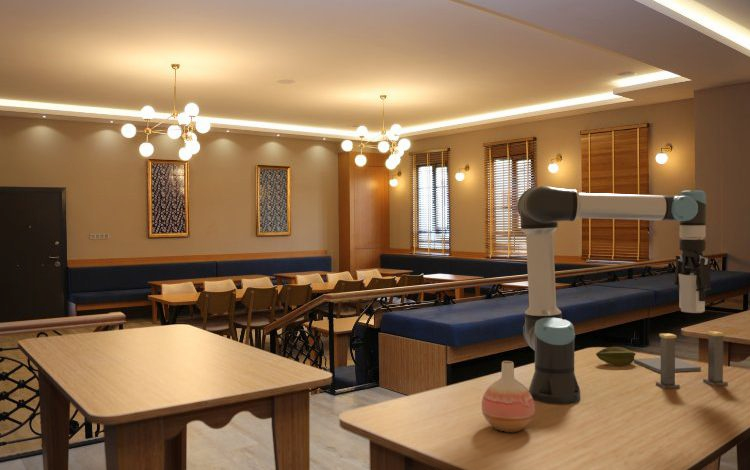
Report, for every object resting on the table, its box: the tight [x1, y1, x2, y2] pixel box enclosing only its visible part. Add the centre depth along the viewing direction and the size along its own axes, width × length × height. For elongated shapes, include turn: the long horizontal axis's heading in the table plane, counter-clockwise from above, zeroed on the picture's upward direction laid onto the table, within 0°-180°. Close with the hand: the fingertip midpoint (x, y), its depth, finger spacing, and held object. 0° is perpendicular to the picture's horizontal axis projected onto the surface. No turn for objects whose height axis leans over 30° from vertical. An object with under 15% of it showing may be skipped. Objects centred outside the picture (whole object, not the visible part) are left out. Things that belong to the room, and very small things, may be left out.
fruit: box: [595, 346, 637, 367], centre depth 232 cm, size 11×12×7 cm
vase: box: [481, 360, 536, 433], centre depth 164 cm, size 14×14×18 cm
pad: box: [633, 357, 702, 374], centre depth 228 cm, size 16×16×1 cm
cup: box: [678, 272, 704, 314], centre depth 202 cm, size 8×8×12 cm
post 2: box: [702, 330, 729, 387], centre depth 204 cm, size 5×5×17 cm
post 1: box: [655, 333, 681, 390], centre depth 202 cm, size 5×5×17 cm
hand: (691, 309), depth 202 cm, fingers closed on cup, 7 cm apart
